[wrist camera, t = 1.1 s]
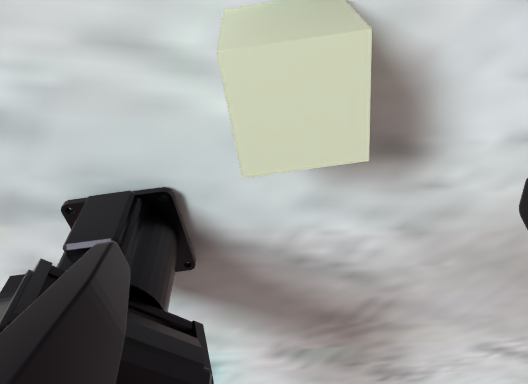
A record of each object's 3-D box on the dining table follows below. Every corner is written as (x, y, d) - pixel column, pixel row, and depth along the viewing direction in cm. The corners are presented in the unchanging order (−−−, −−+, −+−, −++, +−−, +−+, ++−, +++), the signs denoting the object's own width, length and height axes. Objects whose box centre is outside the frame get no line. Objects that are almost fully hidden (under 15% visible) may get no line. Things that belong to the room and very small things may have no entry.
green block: (339, 98, 21) (369, 161, 16) (242, 111, 21) (242, 178, 16) (336, -9, 18) (372, 28, 13) (223, 8, 18) (216, 52, 13)
